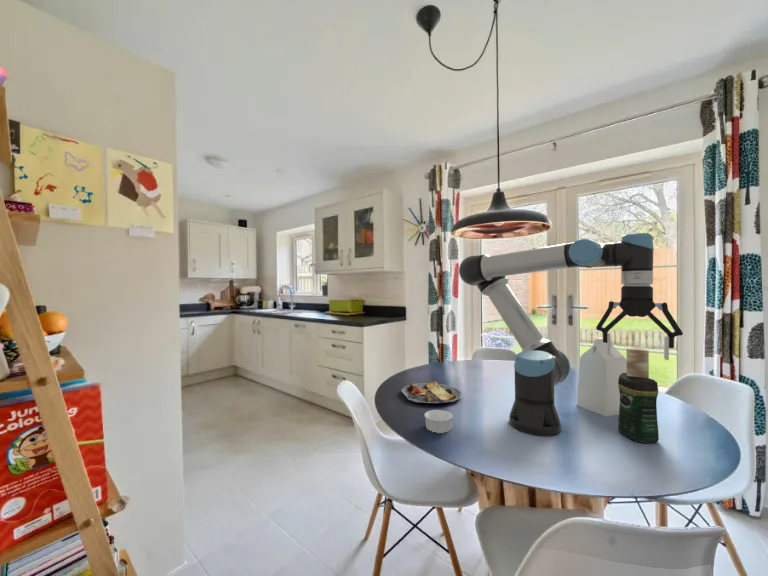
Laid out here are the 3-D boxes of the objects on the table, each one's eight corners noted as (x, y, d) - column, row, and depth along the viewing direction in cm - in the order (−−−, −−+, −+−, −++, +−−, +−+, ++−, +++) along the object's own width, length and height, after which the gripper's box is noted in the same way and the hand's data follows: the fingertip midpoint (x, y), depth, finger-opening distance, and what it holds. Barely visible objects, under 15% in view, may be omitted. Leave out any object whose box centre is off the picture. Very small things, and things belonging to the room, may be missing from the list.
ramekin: (431, 436, 98) (431, 422, 98) (420, 424, 107) (420, 411, 107) (457, 432, 100) (457, 418, 100) (444, 421, 109) (444, 408, 109)
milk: (599, 401, 126) (599, 335, 126) (630, 412, 115) (630, 339, 115) (576, 405, 122) (576, 336, 122) (606, 416, 112) (605, 341, 112)
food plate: (395, 388, 144) (395, 380, 144) (444, 385, 149) (444, 377, 149) (413, 411, 119) (413, 401, 119) (470, 406, 125) (470, 397, 125)
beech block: (627, 375, 96) (626, 349, 96) (626, 372, 100) (626, 346, 100) (648, 378, 93) (648, 350, 93) (647, 374, 97) (647, 348, 97)
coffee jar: (665, 444, 92) (664, 379, 92) (636, 444, 92) (636, 379, 92) (638, 429, 101) (638, 370, 101) (613, 429, 102) (613, 370, 101)
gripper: (586, 285, 101) (586, 353, 101) (696, 285, 86) (696, 364, 86) (588, 285, 107) (588, 349, 107) (691, 285, 92) (690, 359, 93)
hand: (636, 356), depth 97 cm, fingers open, 13 cm apart
